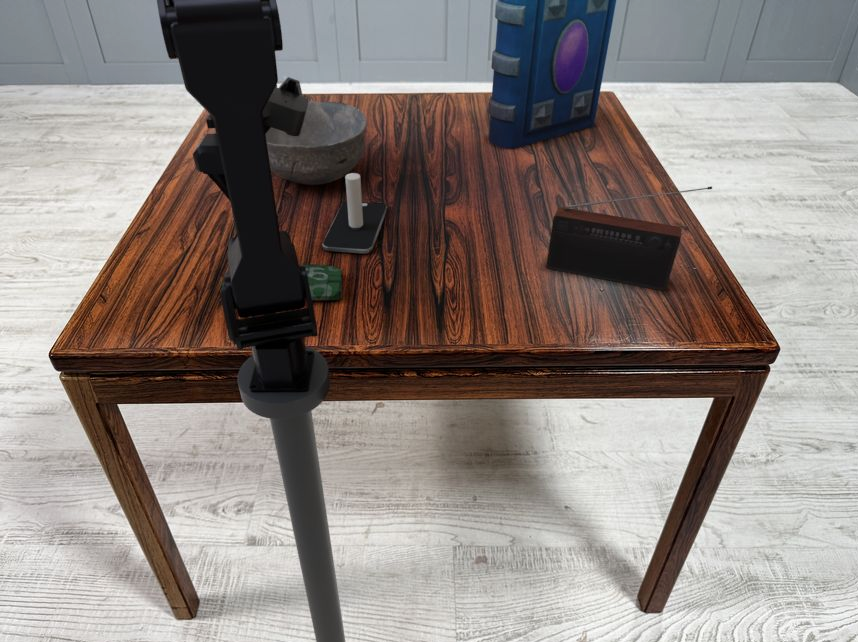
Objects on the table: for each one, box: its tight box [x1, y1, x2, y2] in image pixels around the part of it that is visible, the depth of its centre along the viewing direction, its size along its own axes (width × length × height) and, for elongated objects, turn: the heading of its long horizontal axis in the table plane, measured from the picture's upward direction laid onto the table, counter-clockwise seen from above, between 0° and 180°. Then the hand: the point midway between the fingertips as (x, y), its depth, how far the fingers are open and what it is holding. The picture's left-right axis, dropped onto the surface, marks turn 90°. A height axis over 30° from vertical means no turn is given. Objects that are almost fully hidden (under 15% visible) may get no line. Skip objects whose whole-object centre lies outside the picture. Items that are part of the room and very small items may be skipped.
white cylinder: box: [344, 172, 363, 230], centre depth 99 cm, size 2×2×9 cm
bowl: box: [265, 99, 368, 186], centre depth 114 cm, size 21×21×10 cm
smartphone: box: [321, 201, 388, 254], centre depth 102 cm, size 8×1×15 cm
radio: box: [545, 186, 713, 292], centre depth 87 cm, size 19×3×15 cm, turn 70°
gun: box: [220, 264, 344, 301], centre depth 90 cm, size 16×2×10 cm
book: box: [487, 0, 617, 150], centre depth 122 cm, size 24×9×30 cm, turn 123°
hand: (249, 194), depth 83 cm, fingers open, 9 cm apart
